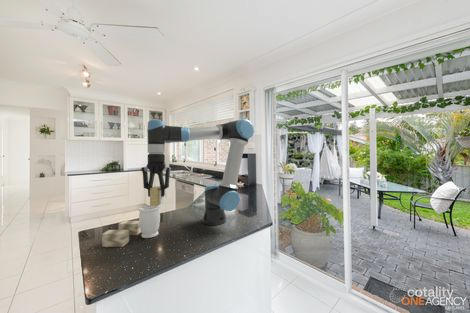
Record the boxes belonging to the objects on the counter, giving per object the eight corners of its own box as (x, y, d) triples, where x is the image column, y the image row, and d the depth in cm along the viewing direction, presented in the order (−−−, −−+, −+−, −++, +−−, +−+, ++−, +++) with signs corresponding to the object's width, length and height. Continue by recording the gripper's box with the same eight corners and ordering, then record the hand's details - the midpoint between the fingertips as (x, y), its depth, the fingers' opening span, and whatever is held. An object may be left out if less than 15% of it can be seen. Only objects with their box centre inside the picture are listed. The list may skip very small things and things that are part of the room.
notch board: (141, 231, 113) (141, 220, 113) (123, 246, 95) (122, 233, 95) (123, 231, 113) (123, 220, 113) (102, 246, 95) (101, 234, 95)
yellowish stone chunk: (162, 202, 98) (162, 186, 98) (157, 205, 92) (157, 188, 92) (155, 202, 98) (155, 186, 98) (150, 205, 92) (150, 188, 92)
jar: (152, 240, 102) (152, 210, 101) (134, 238, 104) (134, 209, 103) (164, 231, 112) (163, 205, 112) (147, 230, 114) (147, 204, 114)
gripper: (176, 153, 98) (176, 201, 99) (142, 153, 98) (142, 201, 99) (171, 153, 91) (171, 205, 91) (134, 153, 91) (134, 205, 91)
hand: (156, 203), depth 95 cm, fingers closed on yellowish stone chunk, 3 cm apart
